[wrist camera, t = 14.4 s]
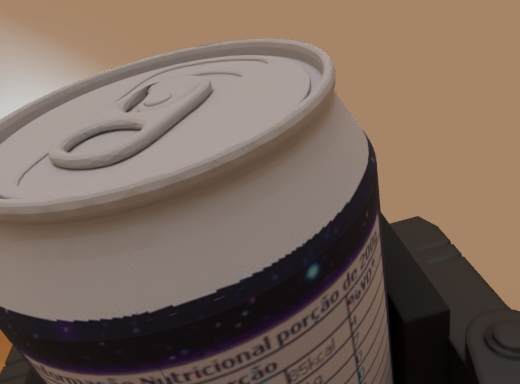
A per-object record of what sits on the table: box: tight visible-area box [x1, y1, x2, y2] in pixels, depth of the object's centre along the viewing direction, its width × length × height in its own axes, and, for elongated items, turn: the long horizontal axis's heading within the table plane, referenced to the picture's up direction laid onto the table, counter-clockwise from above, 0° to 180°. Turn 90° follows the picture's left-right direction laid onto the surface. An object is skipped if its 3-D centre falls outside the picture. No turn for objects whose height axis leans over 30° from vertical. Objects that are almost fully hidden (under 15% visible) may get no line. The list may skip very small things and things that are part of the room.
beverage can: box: [0, 39, 395, 384], centre depth 9 cm, size 6×6×12 cm
